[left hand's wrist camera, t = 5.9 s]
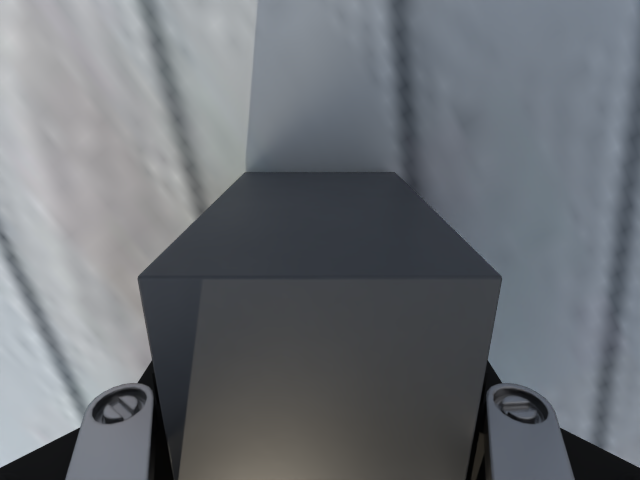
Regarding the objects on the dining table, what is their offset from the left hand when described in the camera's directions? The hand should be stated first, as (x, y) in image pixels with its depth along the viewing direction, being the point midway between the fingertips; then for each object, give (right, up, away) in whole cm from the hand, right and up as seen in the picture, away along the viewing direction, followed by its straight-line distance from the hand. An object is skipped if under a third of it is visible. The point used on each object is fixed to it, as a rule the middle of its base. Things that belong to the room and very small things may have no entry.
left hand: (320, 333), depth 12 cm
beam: (0, -33, +16) cm, 36 cm away
